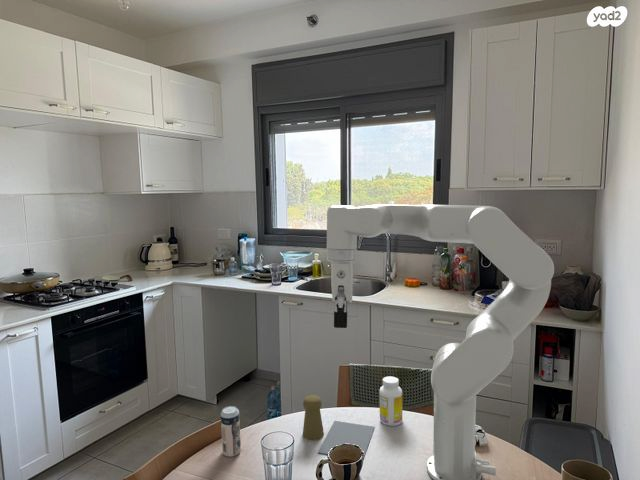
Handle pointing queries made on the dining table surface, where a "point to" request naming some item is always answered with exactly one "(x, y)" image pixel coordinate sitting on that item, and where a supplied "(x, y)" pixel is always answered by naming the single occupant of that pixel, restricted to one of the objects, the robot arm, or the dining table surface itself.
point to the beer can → (230, 431)
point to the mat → (347, 436)
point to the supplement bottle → (390, 402)
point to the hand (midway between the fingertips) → (340, 321)
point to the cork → (312, 418)
